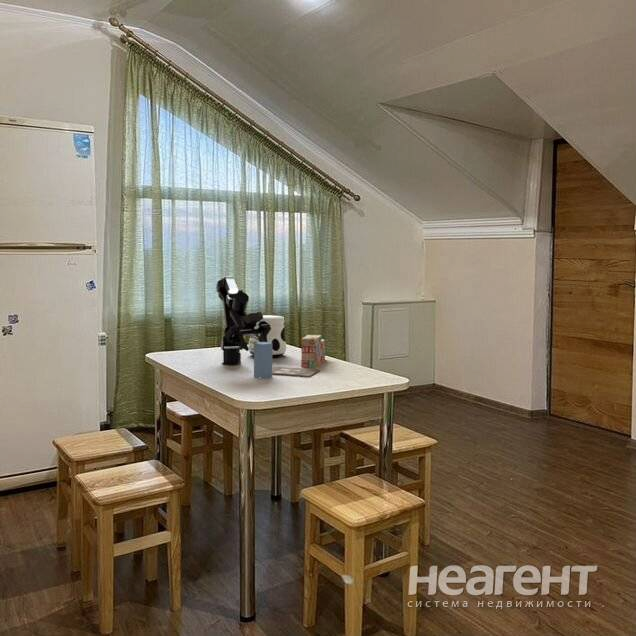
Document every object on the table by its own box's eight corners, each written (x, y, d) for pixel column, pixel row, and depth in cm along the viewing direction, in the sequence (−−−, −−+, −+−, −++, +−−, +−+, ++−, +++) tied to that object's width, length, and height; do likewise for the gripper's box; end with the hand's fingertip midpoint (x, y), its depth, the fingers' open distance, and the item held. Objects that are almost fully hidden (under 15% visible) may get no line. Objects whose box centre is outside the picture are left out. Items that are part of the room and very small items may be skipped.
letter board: (260, 373, 255) (260, 372, 255) (273, 367, 268) (273, 366, 268) (309, 377, 249) (309, 375, 249) (319, 371, 262) (320, 369, 262)
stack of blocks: (311, 359, 292) (311, 332, 291) (325, 359, 291) (325, 332, 290) (301, 367, 271) (301, 338, 270) (315, 368, 270) (316, 338, 269)
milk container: (243, 357, 292) (243, 318, 291) (255, 352, 309) (255, 314, 307) (279, 359, 288) (280, 319, 287) (290, 354, 305) (291, 315, 303)
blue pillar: (253, 376, 249) (254, 342, 248) (264, 374, 253) (264, 341, 251) (261, 378, 246) (262, 344, 244) (272, 376, 249) (272, 343, 248)
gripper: (229, 306, 246) (246, 337, 239) (268, 304, 259) (285, 334, 252) (218, 325, 253) (234, 356, 246) (256, 322, 266) (273, 352, 258)
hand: (257, 349), depth 250 cm, fingers open, 9 cm apart
